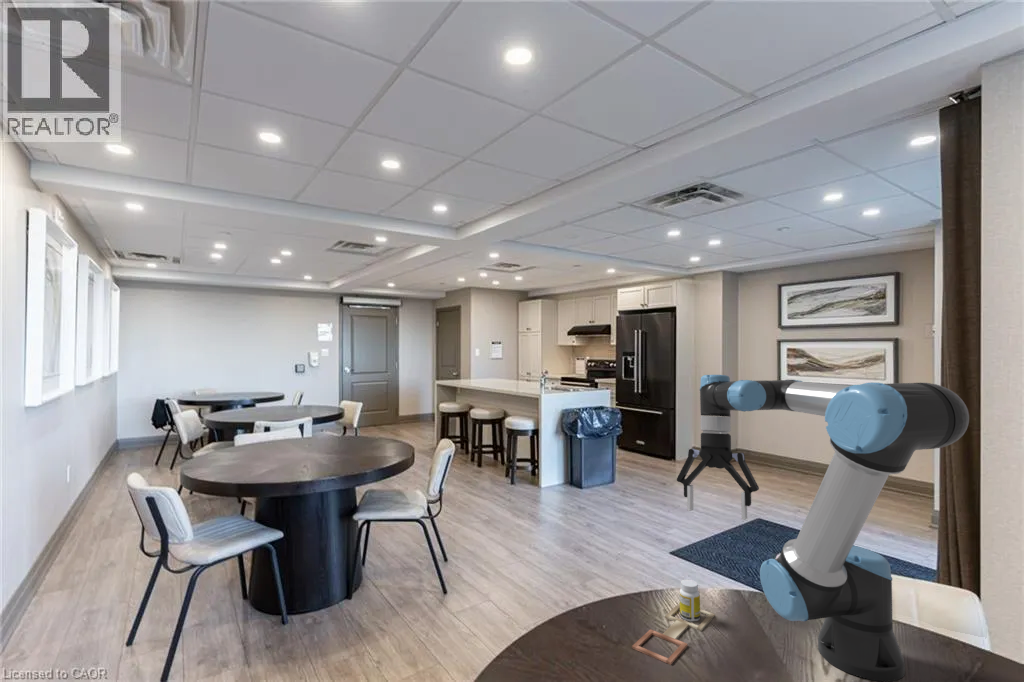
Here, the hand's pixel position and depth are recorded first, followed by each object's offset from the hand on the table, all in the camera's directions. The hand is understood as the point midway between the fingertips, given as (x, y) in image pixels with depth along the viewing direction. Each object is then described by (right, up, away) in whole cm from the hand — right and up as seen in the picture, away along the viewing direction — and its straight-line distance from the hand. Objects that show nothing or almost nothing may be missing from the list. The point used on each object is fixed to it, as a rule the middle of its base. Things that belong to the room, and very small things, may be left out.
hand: (716, 514), depth 129 cm
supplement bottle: (-9, -23, -7) cm, 26 cm away
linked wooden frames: (-15, -23, -13) cm, 31 cm away
